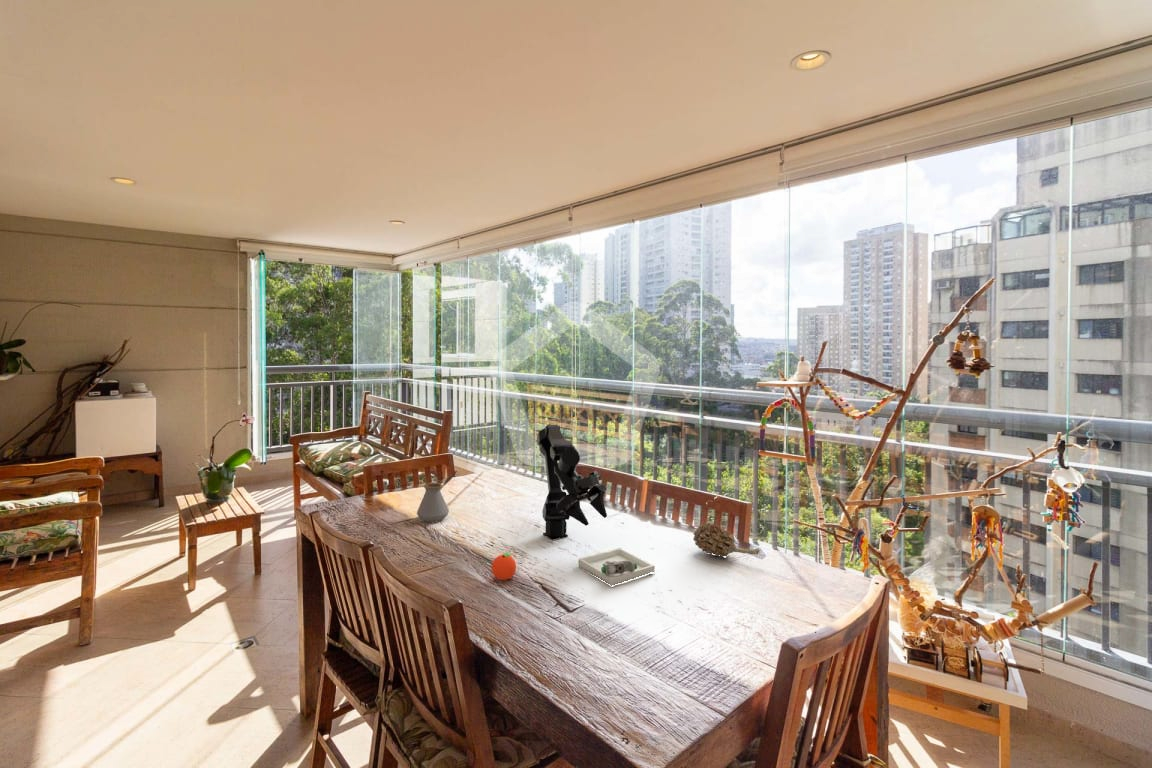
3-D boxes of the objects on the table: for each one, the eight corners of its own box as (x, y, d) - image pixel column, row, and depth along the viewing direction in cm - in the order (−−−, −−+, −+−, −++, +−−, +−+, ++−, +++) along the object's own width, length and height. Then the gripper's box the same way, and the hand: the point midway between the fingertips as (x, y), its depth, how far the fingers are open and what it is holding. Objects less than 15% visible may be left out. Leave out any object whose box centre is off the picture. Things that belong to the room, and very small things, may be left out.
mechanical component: (623, 567, 168) (637, 572, 159) (591, 570, 165) (604, 576, 155) (623, 557, 168) (637, 561, 159) (591, 560, 165) (603, 564, 156)
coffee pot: (436, 526, 200) (436, 485, 199) (410, 521, 204) (409, 481, 203) (469, 509, 220) (469, 471, 218) (445, 505, 224) (445, 468, 223)
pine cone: (687, 555, 179) (688, 524, 178) (698, 545, 186) (700, 516, 186) (757, 572, 166) (758, 540, 165) (766, 562, 174) (767, 531, 173)
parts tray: (611, 587, 155) (611, 578, 155) (578, 566, 168) (578, 558, 168) (654, 573, 164) (654, 565, 164) (619, 555, 177) (619, 547, 177)
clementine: (507, 570, 165) (507, 546, 164) (523, 577, 160) (524, 553, 160) (486, 579, 159) (486, 555, 158) (503, 586, 154) (503, 561, 154)
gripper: (564, 469, 164) (593, 514, 158) (602, 458, 179) (630, 499, 173) (544, 490, 170) (571, 534, 164) (582, 478, 184) (609, 518, 179)
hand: (596, 520), depth 170 cm, fingers open, 9 cm apart
